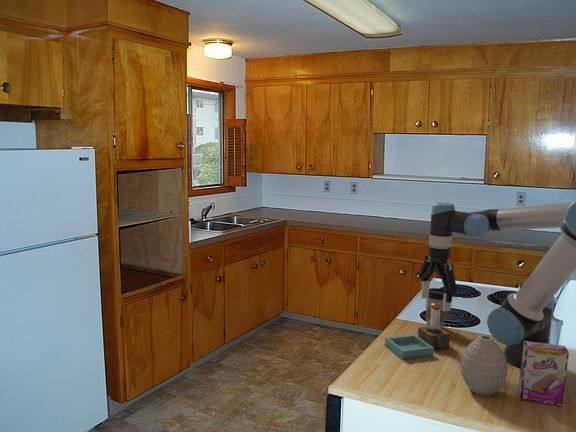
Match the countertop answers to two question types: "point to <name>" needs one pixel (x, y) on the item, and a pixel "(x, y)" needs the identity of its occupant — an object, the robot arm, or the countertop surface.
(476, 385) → the vase
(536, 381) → the candy bar box
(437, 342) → the tensioner block
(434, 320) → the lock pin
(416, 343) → the tray
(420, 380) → the countertop surface
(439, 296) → the coffee cup
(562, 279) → the robot arm
